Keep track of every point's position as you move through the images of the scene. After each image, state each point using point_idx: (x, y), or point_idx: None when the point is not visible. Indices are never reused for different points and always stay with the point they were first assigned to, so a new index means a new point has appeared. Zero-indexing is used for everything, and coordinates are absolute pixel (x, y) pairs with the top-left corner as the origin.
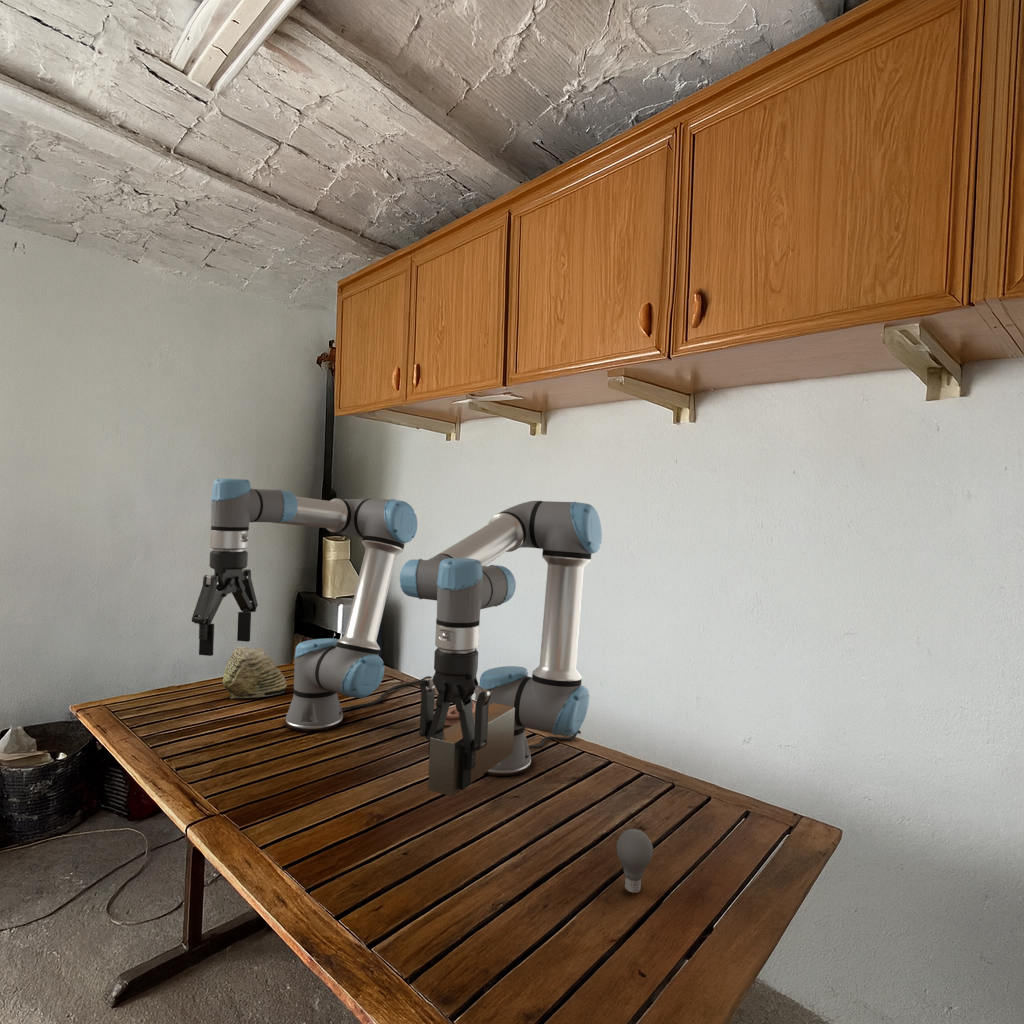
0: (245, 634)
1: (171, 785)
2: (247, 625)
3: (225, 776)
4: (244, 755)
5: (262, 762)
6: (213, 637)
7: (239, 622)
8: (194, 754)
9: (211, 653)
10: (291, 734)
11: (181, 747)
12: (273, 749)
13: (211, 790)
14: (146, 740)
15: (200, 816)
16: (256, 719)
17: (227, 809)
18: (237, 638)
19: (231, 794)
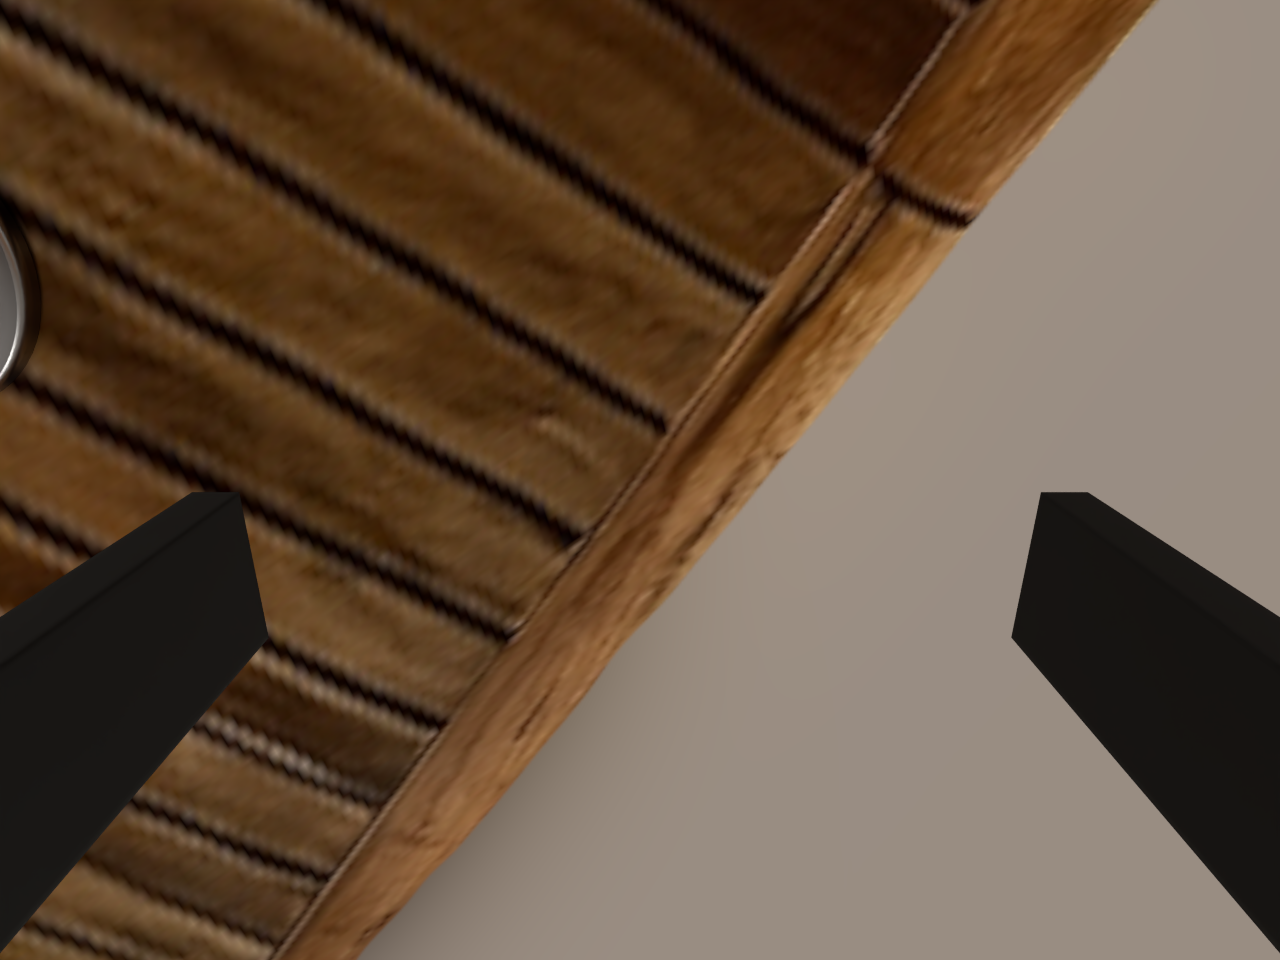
0: (191, 580)
1: (695, 476)
2: (82, 634)
3: (577, 334)
4: (376, 377)
5: (410, 262)
6: (1216, 608)
7: (93, 804)
8: (439, 562)
9: (1095, 502)
10: (84, 303)
11: (401, 640)
12: (271, 291)
13: (700, 313)
14: (395, 776)
15: (899, 224)
16: (20, 546)
17: (834, 154)
18: (252, 652)
19: (715, 215)
